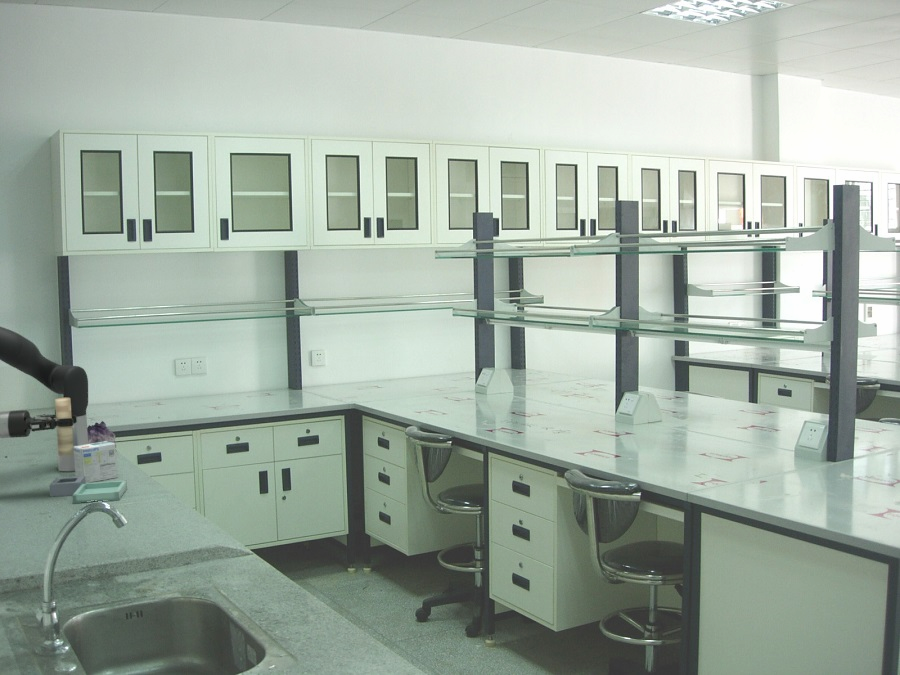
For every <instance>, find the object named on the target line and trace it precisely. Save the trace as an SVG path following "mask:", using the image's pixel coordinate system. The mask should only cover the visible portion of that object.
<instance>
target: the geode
mask: <svg viewBox="0 0 900 675" xmlns="http://www.w3.org/2000/svg"><path fill="white" fill-rule="evenodd" d="M87 433H88V444H92V443H99V442H104V441H108V442H112V443H115V448H116V449H117V444H116V434H115V433H114V432H113V431H112V430H110V429H109V428H108V427H107V424H106V423H105V421H103V420H101V421H100V423H98V422H95V424H92V425H87Z"/></svg>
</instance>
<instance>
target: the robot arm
mask: <svg viewBox="0 0 900 675" xmlns="http://www.w3.org/2000/svg"><path fill="white" fill-rule="evenodd" d="M0 361H1V362H4V363H5V364H7V365H8V366H10V367H13V368H14V369H16V370H18V371H19V372H22V373H24V374H26V375H28V376H30V377H32V378H33V379H35V380H36V381H38V382H39V383H40V384H42V385H43V386H45V387H46V388H47V389H48V390H50V391H51V392H53V393H56V394H59V395H63V398H70V400H71V416H72V418H64V419H59V420H58V419H57V418H56V408H54V414H44V413H43V414H38V415H37V414H36V415H35V416H33V417H31V413H30V412H29V410H28V409H21V410H3V411H0V439H14V438H27V437H29V436H30V434H31V432H38V431H39V432H40V431H49V430H55V433H56V435H55V436H56V448H57V450H56V451H57V464H58V465H57V467H58V471H59V472H75V462H74V454H72V455H66V456H60V455H59V452H58V436H57V428H58V427H66V426H72V432H73V447H74V446H81V445H86V444H88V433H87V428H88V422H87V420H88V419H87V408H88V405H89V378H88V374H87V372H86V370H85V369H84V368H83V367H81V366H79V365H64V364H63V365H62V364H59V363H57V362H54V361H53V360H50V359H49V358H46V357H45V356H44V355H42V353H41V351H40V349H39V348H38V346H37V345H36V344H35V343H33V341H31V340H30V339H28V338H26V337H25V336H24V335H22V334H20V333H17V332H16V331H13V330H11V329H9V328H5V327H2V326H0Z"/></svg>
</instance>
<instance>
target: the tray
mask: <svg viewBox="0 0 900 675" xmlns="http://www.w3.org/2000/svg"><path fill="white" fill-rule="evenodd" d="M127 489H128V481H127V480H126V479H125V480H114V481H96V482H91V483H83V484H82V485H81V486H80V487H79V488H78V489H77V491H76V492H75V493H74V494H73V495H71V496H72V504H73V503H75V504H82V503H81V502H87V501H91V500H94V501H95V500H97V501H102V502H104V501H103V500H108V501H107V502H113V501H114V500H115V501H120V500H121V498H122V496H124V494H123V493H125V492H126V491H127ZM110 500H112V501H110ZM90 503H94V502H93V501H91V502H90Z"/></svg>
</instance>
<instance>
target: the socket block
mask: <svg viewBox="0 0 900 675" xmlns="http://www.w3.org/2000/svg"><path fill="white" fill-rule="evenodd" d="M83 483H86V481H85V476H81V477H76V476H69V477H67V476H65V477H57V478H54V480H53V481H52V482H50V483H49V496H50V497H51V498H52V497H53V496H55V497H67V496H68V495H69V496H72V495H73V494H74V493H75V492H76V491H77V489H78V488H79V487H80V486H81V485H82V484H83Z"/></svg>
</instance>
